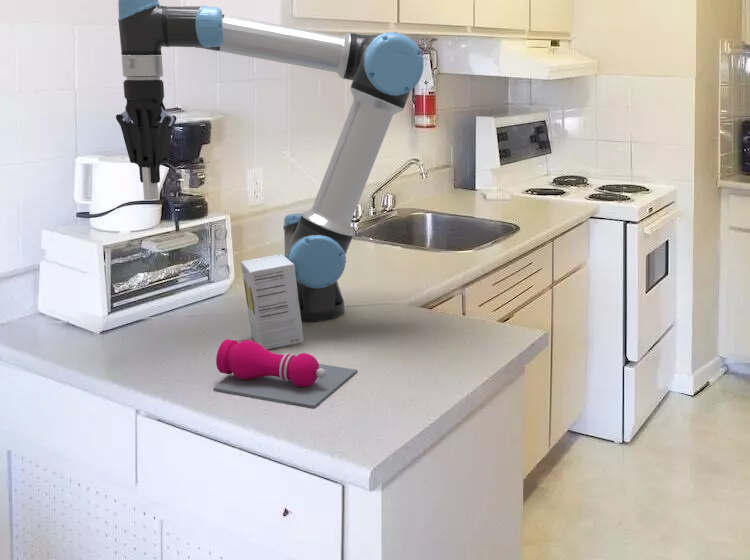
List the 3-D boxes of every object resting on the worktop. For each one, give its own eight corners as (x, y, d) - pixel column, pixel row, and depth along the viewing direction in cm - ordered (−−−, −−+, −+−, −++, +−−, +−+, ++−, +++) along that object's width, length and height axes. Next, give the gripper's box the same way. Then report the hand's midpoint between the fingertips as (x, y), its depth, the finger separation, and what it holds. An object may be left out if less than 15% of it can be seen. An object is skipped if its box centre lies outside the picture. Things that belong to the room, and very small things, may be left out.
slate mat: (213, 390, 150) (213, 387, 150) (264, 357, 166) (264, 355, 166) (314, 408, 143) (314, 405, 143) (357, 372, 159) (357, 369, 159)
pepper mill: (237, 344, 160) (336, 361, 154) (225, 380, 157) (325, 399, 151) (222, 330, 153) (325, 347, 147) (210, 368, 151) (314, 387, 145)
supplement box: (250, 337, 178) (239, 260, 173) (292, 328, 181) (282, 252, 176) (261, 351, 170) (249, 271, 165) (305, 342, 172) (294, 263, 167)
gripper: (103, 78, 163) (113, 199, 169) (159, 79, 158) (167, 204, 165) (128, 77, 170) (136, 194, 176) (182, 78, 165) (189, 198, 171)
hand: (151, 198), depth 170 cm, fingers closed
